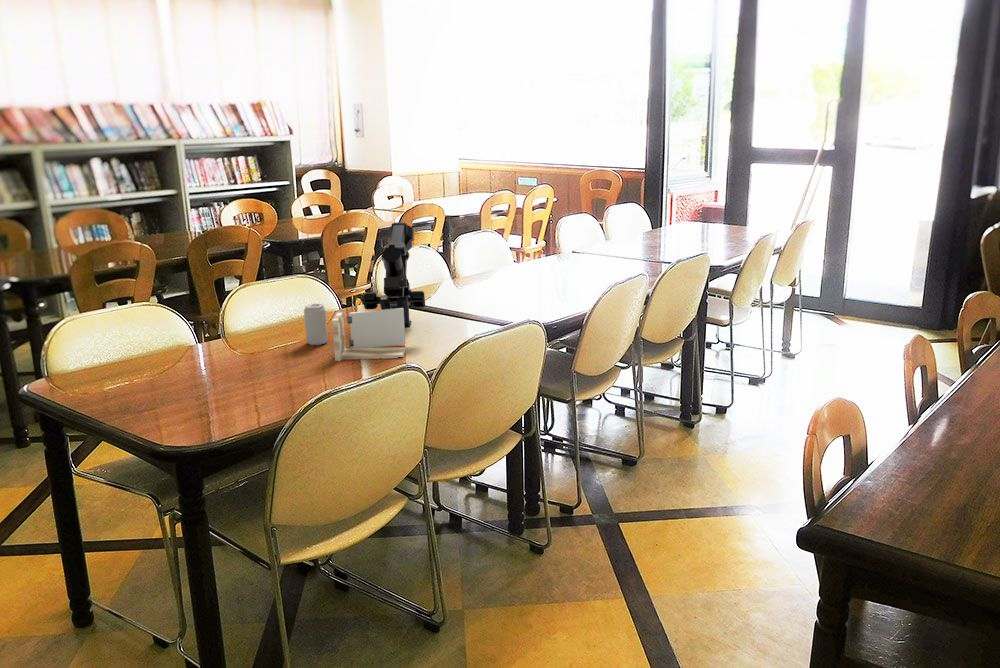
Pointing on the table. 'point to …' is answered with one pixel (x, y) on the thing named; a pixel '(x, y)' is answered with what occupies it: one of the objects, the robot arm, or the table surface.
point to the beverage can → (315, 324)
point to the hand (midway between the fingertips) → (393, 323)
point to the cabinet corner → (358, 352)
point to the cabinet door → (376, 328)
